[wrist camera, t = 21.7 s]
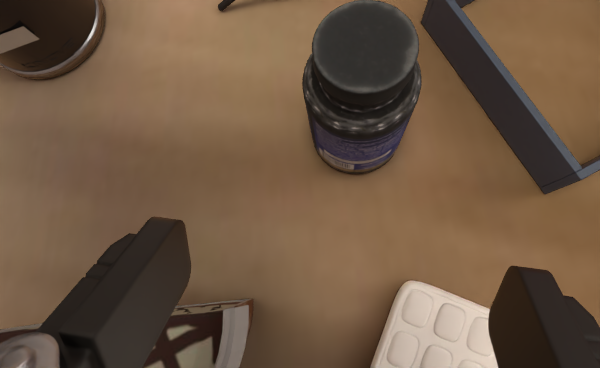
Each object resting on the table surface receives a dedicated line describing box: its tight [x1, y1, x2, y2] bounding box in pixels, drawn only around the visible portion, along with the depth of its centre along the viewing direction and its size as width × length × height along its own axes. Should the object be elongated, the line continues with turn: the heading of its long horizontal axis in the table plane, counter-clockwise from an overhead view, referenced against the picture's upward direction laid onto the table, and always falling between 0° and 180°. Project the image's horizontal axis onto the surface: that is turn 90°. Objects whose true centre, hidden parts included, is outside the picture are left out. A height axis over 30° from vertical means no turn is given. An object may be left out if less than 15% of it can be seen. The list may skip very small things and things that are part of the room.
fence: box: [421, 0, 600, 194], centre depth 26 cm, size 15×15×4 cm
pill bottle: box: [302, 0, 421, 174], centre depth 23 cm, size 6×6×11 cm
